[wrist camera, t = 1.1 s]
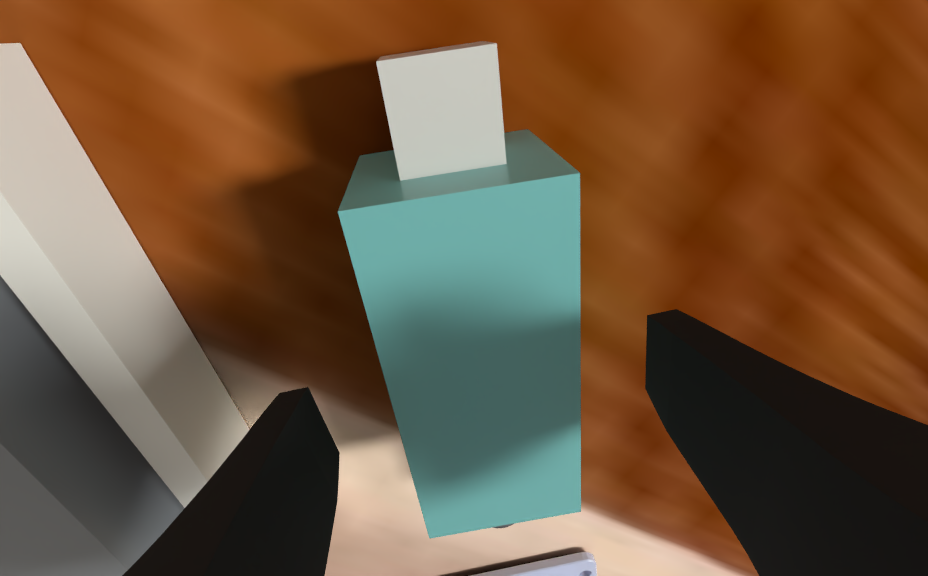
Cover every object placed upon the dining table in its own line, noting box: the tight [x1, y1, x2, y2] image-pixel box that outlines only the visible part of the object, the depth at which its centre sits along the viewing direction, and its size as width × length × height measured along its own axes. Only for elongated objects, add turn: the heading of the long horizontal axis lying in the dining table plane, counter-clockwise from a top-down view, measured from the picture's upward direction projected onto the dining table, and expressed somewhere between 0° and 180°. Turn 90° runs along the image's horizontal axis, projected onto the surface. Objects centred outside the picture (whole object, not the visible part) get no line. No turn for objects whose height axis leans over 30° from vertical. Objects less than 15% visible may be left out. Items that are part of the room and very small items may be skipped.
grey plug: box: [0, 275, 184, 576], centre depth 11 cm, size 13×4×4 cm, turn 11°
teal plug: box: [338, 41, 581, 538], centre depth 11 cm, size 13×4×4 cm, turn 7°
